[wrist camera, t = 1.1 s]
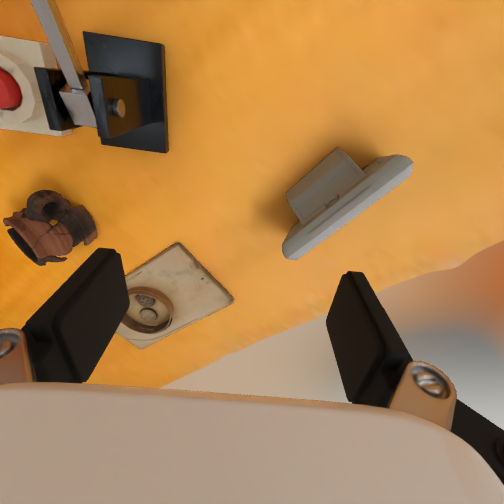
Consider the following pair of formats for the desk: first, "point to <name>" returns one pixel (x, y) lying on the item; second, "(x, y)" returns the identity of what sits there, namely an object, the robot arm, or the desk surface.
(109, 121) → the bracket
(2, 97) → the button
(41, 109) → the control block
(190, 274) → the board
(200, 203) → the desk surface
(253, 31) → the desk surface
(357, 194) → the digital clock
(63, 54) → the lever
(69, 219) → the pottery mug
